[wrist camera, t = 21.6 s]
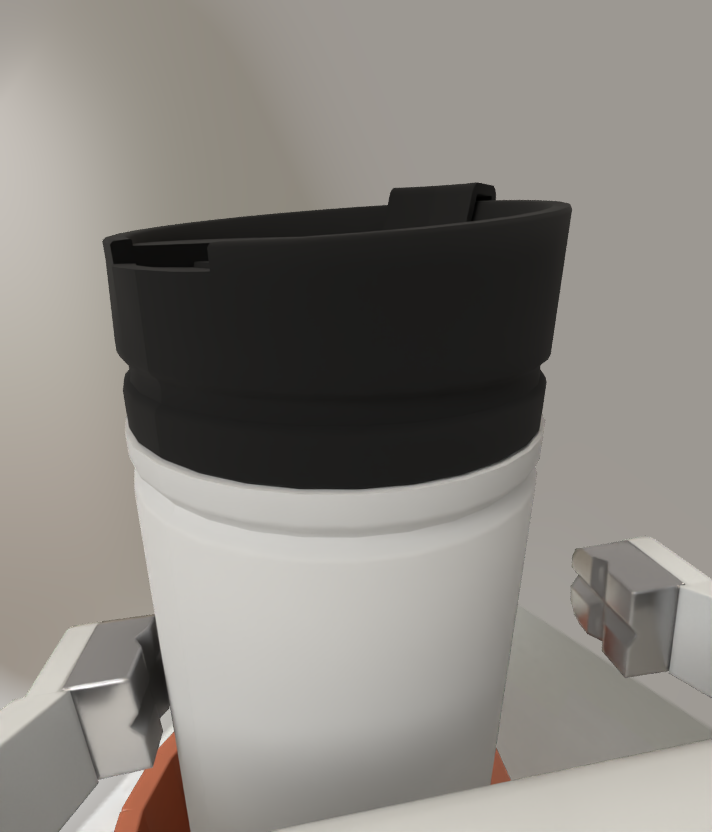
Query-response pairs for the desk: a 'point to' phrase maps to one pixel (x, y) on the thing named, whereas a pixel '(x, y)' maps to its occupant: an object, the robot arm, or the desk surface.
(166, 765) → the holder
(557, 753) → the desk surface
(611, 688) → the desk surface
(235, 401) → the travel mug
